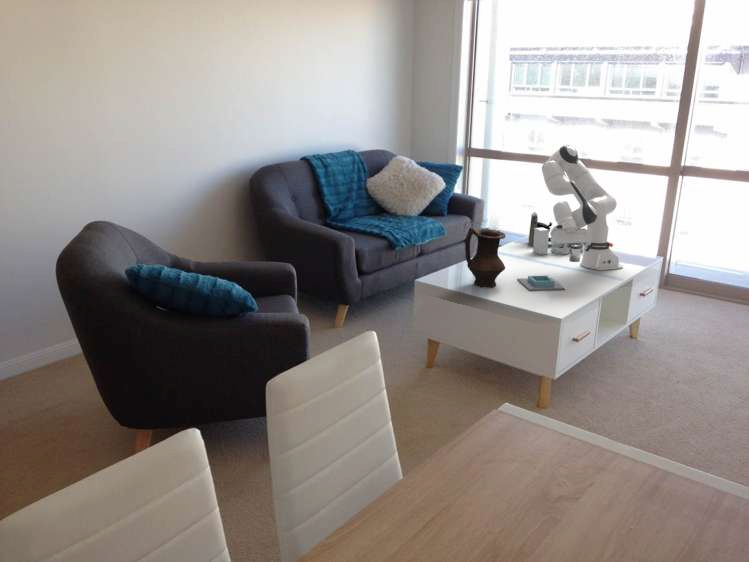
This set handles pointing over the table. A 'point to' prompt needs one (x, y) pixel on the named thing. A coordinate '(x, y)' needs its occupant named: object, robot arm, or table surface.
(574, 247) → the glass jar
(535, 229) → the skincare box
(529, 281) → the stand
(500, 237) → the jug
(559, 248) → the tea box
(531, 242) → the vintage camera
